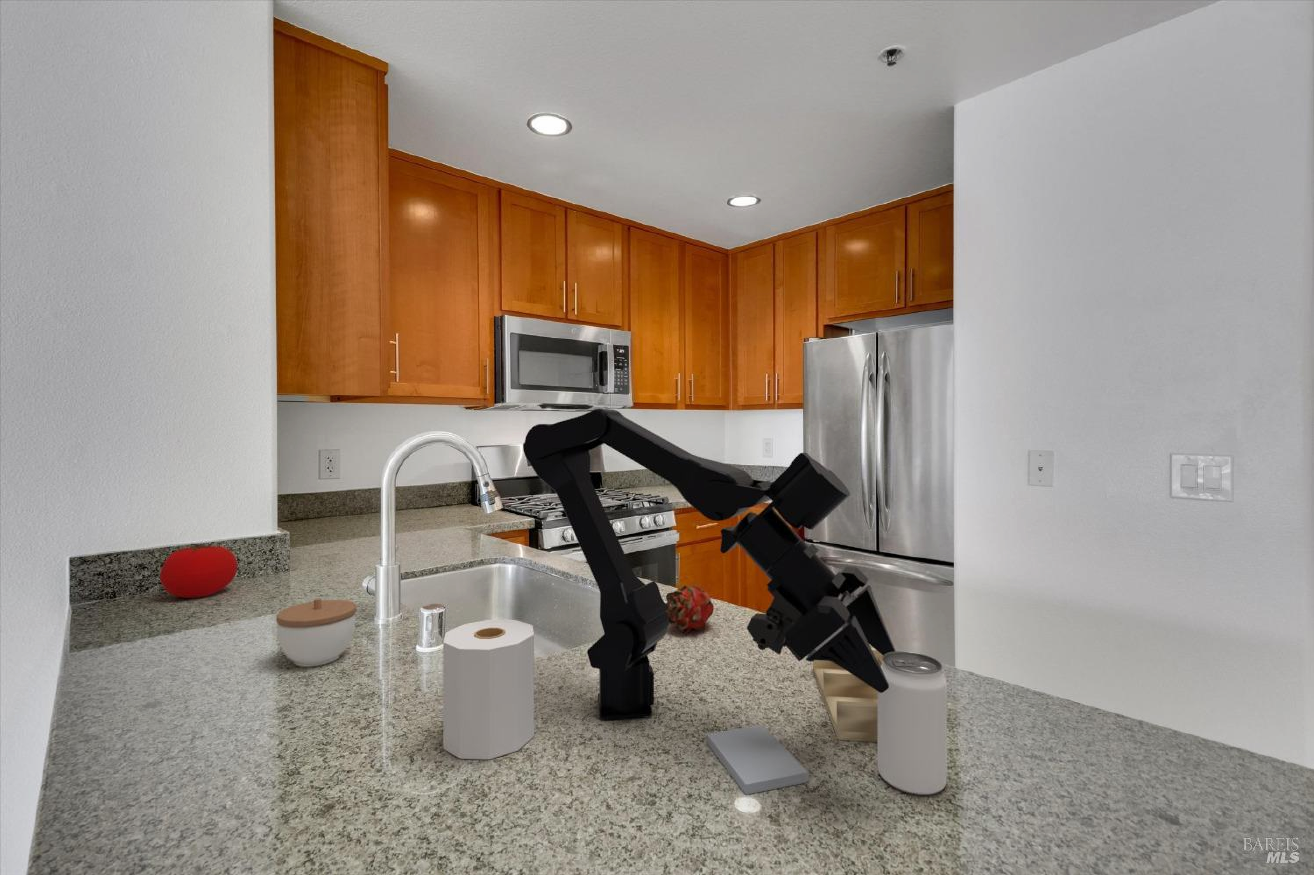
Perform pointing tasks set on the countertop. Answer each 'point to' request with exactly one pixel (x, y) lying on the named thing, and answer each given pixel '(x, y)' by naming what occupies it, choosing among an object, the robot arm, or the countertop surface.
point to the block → (756, 759)
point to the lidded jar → (316, 631)
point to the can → (913, 724)
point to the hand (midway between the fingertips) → (889, 672)
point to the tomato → (198, 571)
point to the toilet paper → (488, 688)
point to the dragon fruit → (689, 608)
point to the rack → (848, 701)
